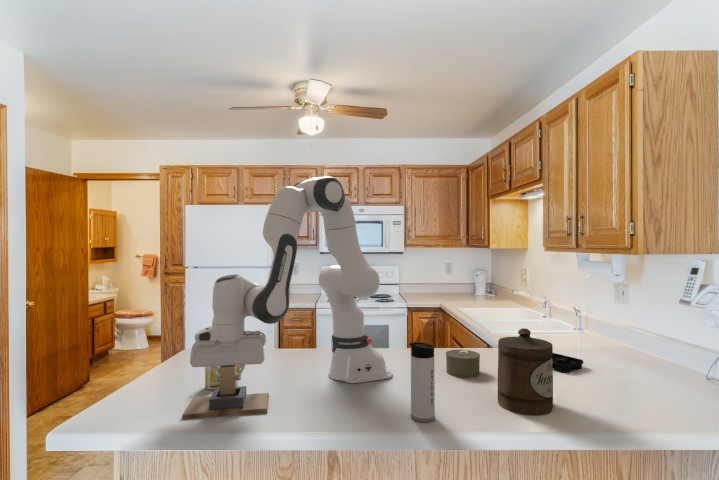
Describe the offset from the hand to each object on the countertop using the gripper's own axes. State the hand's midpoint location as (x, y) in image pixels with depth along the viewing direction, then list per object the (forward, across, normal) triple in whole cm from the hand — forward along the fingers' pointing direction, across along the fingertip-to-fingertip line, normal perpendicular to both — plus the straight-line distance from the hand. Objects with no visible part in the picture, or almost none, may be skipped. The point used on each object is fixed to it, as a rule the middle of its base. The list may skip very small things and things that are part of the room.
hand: (228, 380), depth 117 cm
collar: (+7, 0, 0) cm, 7 cm away
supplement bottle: (+8, +7, -18) cm, 21 cm away
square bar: (+4, 0, 0) cm, 4 cm away
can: (+8, -79, -17) cm, 81 cm away
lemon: (+8, +2, -22) cm, 24 cm away
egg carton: (+8, -115, -24) cm, 117 cm away
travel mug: (+8, -52, +17) cm, 55 cm away
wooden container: (+8, -84, +14) cm, 86 cm away
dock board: (+8, 0, 0) cm, 8 cm away
